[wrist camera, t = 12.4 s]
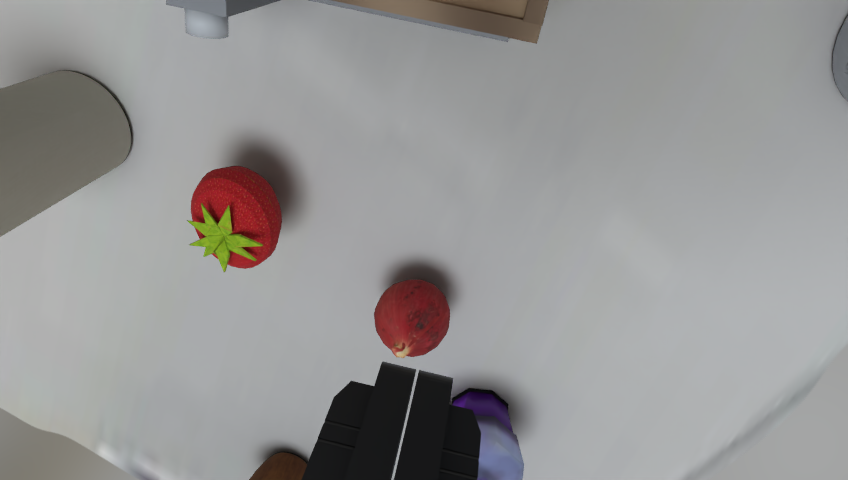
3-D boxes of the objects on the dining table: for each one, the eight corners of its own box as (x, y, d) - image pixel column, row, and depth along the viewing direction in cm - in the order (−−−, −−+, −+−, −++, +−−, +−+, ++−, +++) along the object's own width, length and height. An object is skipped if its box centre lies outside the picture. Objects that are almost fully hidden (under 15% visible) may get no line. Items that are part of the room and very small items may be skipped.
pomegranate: (419, 247, 44) (400, 307, 37) (469, 293, 45) (459, 359, 38) (372, 285, 46) (346, 348, 40) (420, 328, 48) (403, 395, 41)
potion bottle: (420, 385, 51) (394, 501, 41) (508, 367, 49) (504, 485, 38) (454, 447, 55) (438, 568, 45) (538, 433, 52) (542, 558, 42)
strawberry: (290, 138, 41) (229, 195, 32) (313, 227, 44) (263, 300, 36) (218, 144, 42) (140, 200, 33) (246, 230, 46) (182, 301, 37)
